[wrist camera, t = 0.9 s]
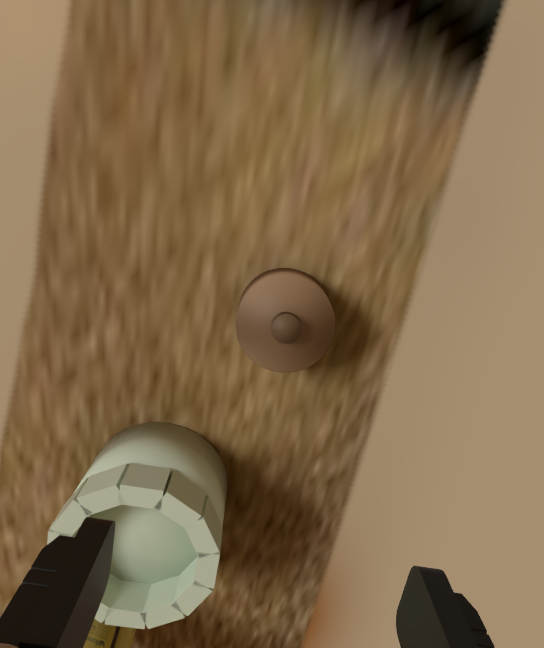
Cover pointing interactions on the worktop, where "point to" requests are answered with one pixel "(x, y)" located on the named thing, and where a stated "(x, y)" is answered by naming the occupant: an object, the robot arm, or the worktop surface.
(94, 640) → the sauce bottle
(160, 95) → the worktop surface
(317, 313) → the lid
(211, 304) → the worktop surface
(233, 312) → the worktop surface
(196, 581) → the jar
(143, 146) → the worktop surface
